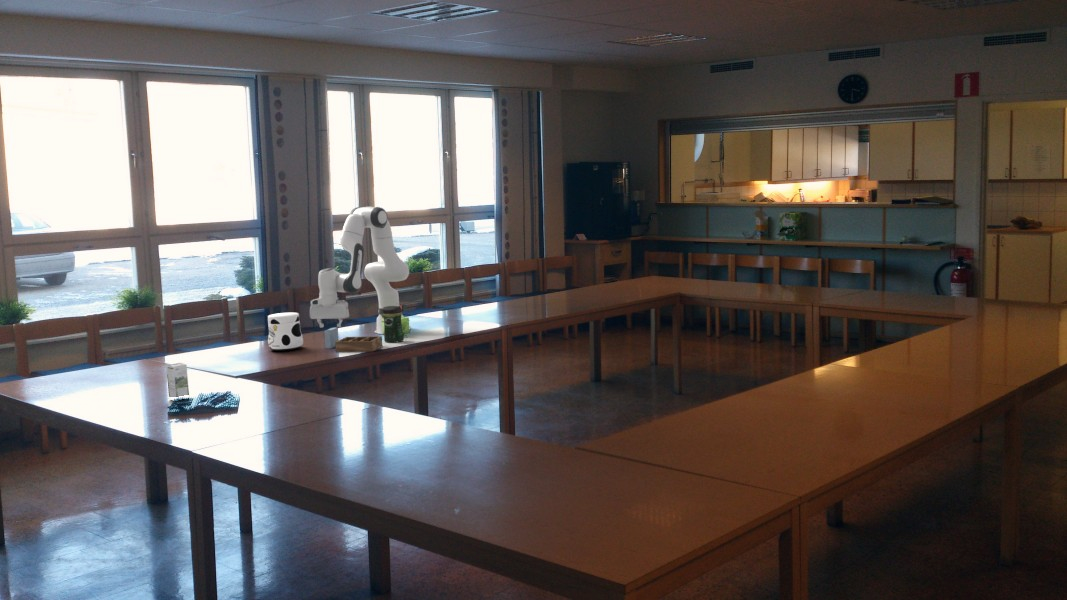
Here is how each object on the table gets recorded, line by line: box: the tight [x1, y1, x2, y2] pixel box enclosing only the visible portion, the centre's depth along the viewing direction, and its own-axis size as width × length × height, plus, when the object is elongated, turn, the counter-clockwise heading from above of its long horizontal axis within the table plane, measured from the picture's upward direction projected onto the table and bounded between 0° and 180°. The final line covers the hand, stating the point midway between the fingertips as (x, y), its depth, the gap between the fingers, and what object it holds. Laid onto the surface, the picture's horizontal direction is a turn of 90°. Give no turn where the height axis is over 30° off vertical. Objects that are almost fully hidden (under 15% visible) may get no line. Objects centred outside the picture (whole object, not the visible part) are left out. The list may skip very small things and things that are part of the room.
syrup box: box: [165, 362, 190, 398], centre depth 379 cm, size 6×6×14 cm
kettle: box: [382, 316, 411, 337], centre depth 507 cm, size 15×14×11 cm
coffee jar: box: [382, 305, 405, 343], centre depth 490 cm, size 10×8×19 cm
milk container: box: [267, 312, 304, 352], centre depth 482 cm, size 17×17×18 cm
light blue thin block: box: [323, 327, 340, 349], centre depth 485 cm, size 10×3×9 cm, turn 168°
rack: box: [335, 335, 383, 353], centre depth 474 cm, size 14×19×5 cm
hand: (330, 327), depth 484 cm, fingers open, 8 cm apart
